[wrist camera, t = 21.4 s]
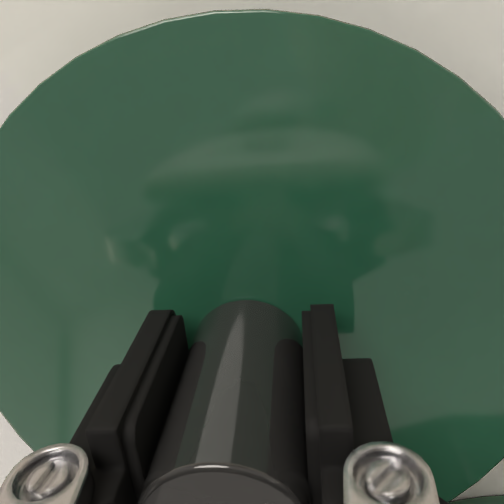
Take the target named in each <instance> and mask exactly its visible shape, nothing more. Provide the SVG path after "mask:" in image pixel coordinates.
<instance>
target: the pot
mask: <svg viewBox="0 0 504 504" xmlns="http://www.w3.org/2000/svg"><path fill="white" fill-rule="evenodd" d="M449 504H504V495H500V496H484V497H477V498H470V499H463V500H457V501H453V502H449Z"/></svg>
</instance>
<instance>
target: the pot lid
mask: <svg viewBox="0 0 504 504" xmlns="http://www.w3.org/2000/svg"><path fill="white" fill-rule="evenodd" d="M313 304H333V305H334V311H335V317H336V324H337V330H338V336H339V342H340V349H341V355H342V359H357V358H371V359H372V362H373V365H374V369H375V373H376V377H377V380H378V384H379V388H380V392H381V396H382V400H383V404H384V408H385V412H386V416H387V420H388V423H389V427H390V431H391V435H392V439H393V443H397V444H400V445H402V446H404V447H407V448H409V449H411V450H412V451H414V452H415V453H417V454H418V455H419V456H421V457H422V458H423V460H424V461H425V462H426V463H427V464H428V466H429V467H430V470H431V472H432V474H433V477H434V480H435V485H436V489H437V494H438V496H439V497H440V498H442V499H443V500H445V501H446V502H449V501H451V500H452V499H454V498H455V497H457V496H458V495H459V494H461V493H462V492H464V491H465V490H466V489H468V488H469V487H471V486H472V485H473V484H475V483H476V482H478V481H479V480H480V479H481V478H482V477H483V476H485V475H486V474H487V473H488V472H489V471H490V470H491V469H492V468H493V467H494V466H496V465H497V464H498V463H499V462H500V461H501V460H502V459H503V458H504V118H503V117H502V115H501V114H500V113H499V112H498V111H497V109H496V108H495V107H493V106H492V105H491V104H490V103H489V102H488V101H487V100H485V99H484V98H483V97H482V96H481V95H480V94H479V93H477V92H476V91H475V90H474V89H473V88H472V87H471V86H469V85H468V84H467V83H466V82H465V81H464V80H463V79H461V78H460V77H459V76H457V75H456V74H454V73H453V72H451V71H450V70H448V69H446V68H445V67H443V66H442V65H440V64H438V63H437V62H435V61H434V60H432V59H431V58H429V57H427V56H426V55H424V54H423V53H421V52H420V51H418V50H416V49H414V48H412V47H409V46H407V45H405V44H402V43H400V42H398V41H396V40H393V39H391V38H389V37H387V36H384V35H382V34H380V33H377V32H375V31H373V30H371V29H368V28H364V27H360V26H357V25H353V24H349V23H346V22H342V21H338V20H335V19H331V18H327V17H324V16H320V15H313V14H304V13H296V12H288V11H279V10H271V9H249V10H214V11H209V12H203V13H198V14H192V15H186V16H181V17H175V18H170V19H164V20H161V21H158V22H155V23H152V24H149V25H146V26H143V27H141V28H138V29H135V30H132V31H129V32H126V33H123V34H120V35H117V36H115V37H113V38H111V39H110V40H108V41H106V42H104V43H102V44H100V45H98V46H96V47H94V48H92V49H90V50H88V51H87V52H85V53H83V54H81V55H79V56H77V57H75V58H74V59H73V60H71V61H70V62H69V63H67V64H66V65H64V66H63V67H62V68H60V69H59V70H58V71H56V72H55V73H54V74H52V75H51V76H50V77H48V78H47V79H46V80H44V81H43V82H42V83H40V84H39V85H38V86H37V87H36V88H35V89H34V90H33V91H32V92H31V93H30V94H29V95H28V96H27V97H26V98H25V99H24V100H23V101H22V102H21V103H20V105H19V106H18V107H17V108H16V109H15V110H14V111H13V112H12V113H11V114H10V115H9V116H8V118H7V119H6V121H5V122H4V123H3V125H2V126H1V128H0V412H1V414H2V415H3V416H4V417H5V419H6V420H7V421H8V423H9V424H10V425H11V426H12V428H13V429H14V430H15V431H16V433H17V434H18V435H19V437H20V438H21V439H22V440H23V441H24V442H25V443H26V444H27V445H28V446H29V447H30V448H31V449H32V450H33V451H36V450H38V449H41V448H43V447H46V446H49V445H54V444H59V443H68V444H69V443H70V441H71V439H72V437H73V435H74V434H75V432H76V430H77V428H78V427H79V425H80V423H81V421H82V419H83V418H84V416H85V414H86V412H87V411H88V409H89V407H90V405H91V403H92V402H93V400H94V398H95V396H96V395H97V393H98V391H99V389H100V387H101V386H102V384H103V382H104V380H105V379H106V377H107V375H108V373H109V371H110V370H111V368H112V367H113V366H114V365H116V364H121V363H122V361H123V359H124V357H125V355H126V353H127V352H128V350H129V348H130V346H131V344H132V342H133V340H134V339H135V337H136V335H137V333H138V331H139V329H140V328H141V326H142V324H143V322H144V320H145V318H146V316H147V315H148V313H149V311H151V310H174V311H175V313H176V315H182V316H183V319H184V324H185V331H186V337H187V343H188V349H189V352H188V355H187V358H186V361H185V364H184V367H183V370H182V373H181V376H180V379H179V382H178V385H177V388H176V391H175V394H174V397H173V400H172V403H171V406H170V409H169V412H168V414H167V417H166V420H165V423H164V426H163V429H162V432H161V435H160V438H159V441H158V444H157V447H156V450H155V453H154V456H153V459H152V462H151V465H150V468H149V471H148V474H147V477H146V479H145V482H144V485H143V488H142V491H141V494H140V497H139V500H138V503H137V504H312V496H311V490H310V487H309V483H308V464H307V445H306V424H305V396H304V368H303V339H302V311H310V305H313Z"/></svg>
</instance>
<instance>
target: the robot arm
mask: <svg viewBox="0 0 504 504" xmlns="http://www.w3.org/2000/svg"><path fill="white" fill-rule="evenodd" d="M302 339H303V368H304V396H305V424H306V445H307V464H308V483H309V487H310V490H311V496H312V504H449V503H448V502H446V501H445V500H443V499H442V498H440V497H439V496H438V494H437V489H436V485H435V480H434V477H433V474H432V472H431V470H430V467H429V466H428V464H427V463H426V462H425V461H424V460H423V458H422V457H421V456H419V455H418V454H417V453H415V452H414V451H412V450H411V449H409V448H407V447H404V446H402V445H400V444H397V443H393V439H392V435H391V431H390V427H389V423H388V420H387V416H386V412H385V408H384V404H383V400H382V396H381V392H380V388H379V384H378V380H377V377H376V373H375V369H374V365H373V362H372V359H371V358H357V359H342V355H341V349H340V342H339V336H338V330H337V324H336V317H335V311H334V305H333V304H313V305H310V311H302ZM188 352H189V349H188V343H187V337H186V331H185V324H184V319H183V316H182V315H176V313H175V311H174V310H151V311H149V313H148V315H147V316H146V318H145V320H144V322H143V324H142V326H141V328H140V329H139V331H138V333H137V335H136V337H135V339H134V340H133V342H132V344H131V346H130V348H129V350H128V352H127V353H126V355H125V357H124V359H123V361H122V363H121V364H116V365H114V366H113V367H112V368H111V370H110V371H109V373H108V375H107V377H106V379H105V380H104V382H103V384H102V386H101V387H100V389H99V391H98V393H97V395H96V396H95V398H94V400H93V402H92V403H91V405H90V407H89V409H88V411H87V412H86V414H85V416H84V418H83V419H82V421H81V423H80V425H79V427H78V428H77V430H76V432H75V434H74V435H73V437H72V439H71V441H70V443H69V444H68V443H59V444H54V445H49V446H46V447H43V448H41V449H38V450H36V451H34V452H33V453H31V454H29V455H28V456H26V457H24V458H23V459H22V460H21V461H20V462H19V463H18V464H17V465H15V466H14V467H13V469H12V470H11V471H10V473H9V474H8V476H7V477H6V479H5V480H4V482H3V484H2V486H1V487H0V504H137V503H138V500H139V497H140V494H141V491H142V488H143V485H144V482H145V479H146V477H147V474H148V471H149V468H150V465H151V462H152V459H153V456H154V453H155V450H156V447H157V444H158V441H159V438H160V435H161V432H162V429H163V426H164V423H165V420H166V417H167V414H168V412H169V409H170V406H171V403H172V400H173V397H174V394H175V391H176V388H177V385H178V382H179V379H180V376H181V373H182V370H183V367H184V364H185V361H186V358H187V355H188Z"/></svg>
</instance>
